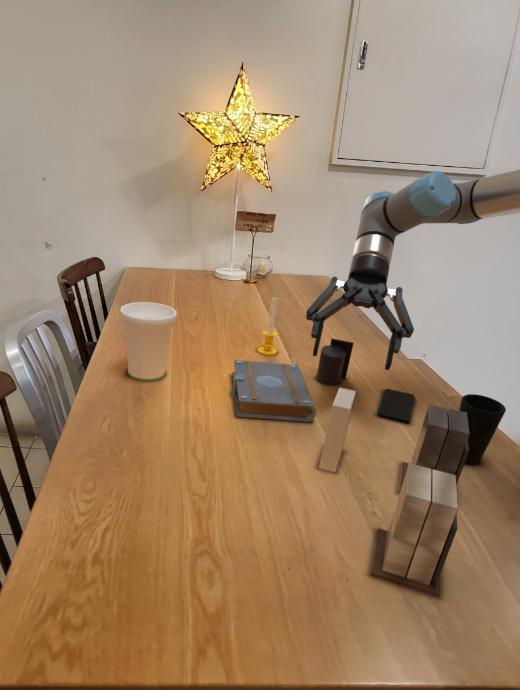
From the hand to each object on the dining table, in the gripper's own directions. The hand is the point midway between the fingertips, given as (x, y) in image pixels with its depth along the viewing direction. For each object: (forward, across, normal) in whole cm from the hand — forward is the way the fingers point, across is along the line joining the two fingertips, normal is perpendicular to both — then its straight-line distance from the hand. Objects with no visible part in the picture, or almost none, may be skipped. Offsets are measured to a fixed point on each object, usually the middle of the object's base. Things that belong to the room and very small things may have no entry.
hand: (351, 360), depth 101 cm
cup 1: (+5, +44, -18) cm, 48 cm away
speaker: (-7, +3, -30) cm, 31 cm away
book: (+4, +15, -19) cm, 25 cm away
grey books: (+20, -17, -3) cm, 26 cm away
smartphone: (-2, -13, -25) cm, 28 cm away
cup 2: (+10, -25, -13) cm, 30 cm away
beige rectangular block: (+19, 0, -4) cm, 19 cm away
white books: (+35, -13, +12) cm, 39 cm away
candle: (-15, +21, -38) cm, 46 cm away
